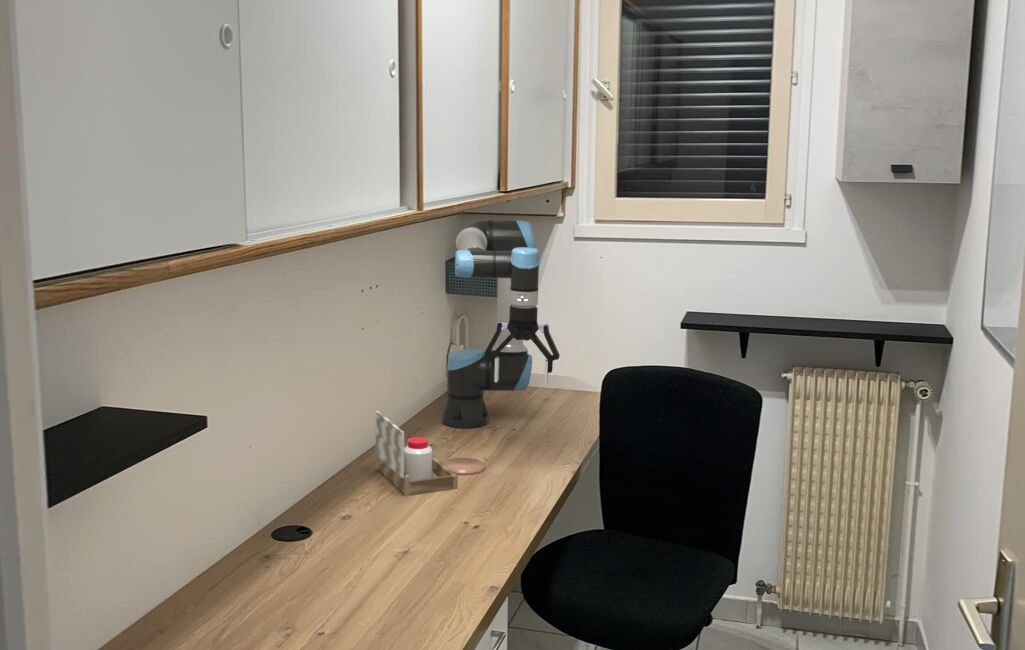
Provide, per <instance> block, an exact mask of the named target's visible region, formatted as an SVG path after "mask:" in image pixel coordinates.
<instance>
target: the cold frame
mask: <svg viewBox="0 0 1025 650" xmlns="http://www.w3.org/2000/svg"><path fill="white" fill-rule="evenodd" d="M404 448H405V431H403V430H402V429H401V428H400V427H399V426H398V425H396V424H395V423H394V422H393V421H391V420H390V419H389V418H388V417H386V415H384V414H383V413H381V412H380V411H379V410H376V411H375V449H374V450H375V452H374V453H375V455H376V456H377V457H378V458H379V459H378V461H379V472H380V473H381V474H382V475H383V476H384V477H385V478H386V479H388V481H389V482H390V483H391V484H393V485H394V487H395V488H396V489H397V490H399V491H400V492H401V494H403V496H405V497H408V496H415V495H422V494H428V493H429V494H430V493H436V492H443V491H449V490H450V491H451V490H456V489H458V476H459V475H456V474H455V473H454V472H452V471H451V470H450V469H449V468H447V467H446V466H445V465H444V464H443V462H441V461H440V460H439V459H438V458H437V457H435V456H434V455H433V454H432V473H434V474H435V475H436V476H434V477H433V476H432V478H425V479H418V480H411V481H410V476H409V475H407V474H406V472H405V471H404Z"/></svg>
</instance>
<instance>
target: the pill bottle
mask: <svg viewBox="0 0 1025 650" xmlns="http://www.w3.org/2000/svg"><path fill="white" fill-rule="evenodd" d="M432 455H433V448H432V447H431V445H429V439H428V438H426V437H421V436H413V437H410V438H408V439H407V445H406V446H404V471H405V472H406V474H407V475H409V476H410V481H411V480H418V479H425V478H433V471H432Z"/></svg>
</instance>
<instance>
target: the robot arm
mask: <svg viewBox="0 0 1025 650" xmlns="http://www.w3.org/2000/svg"><path fill="white" fill-rule="evenodd" d="M535 243H536V242H535V236H534V232H533V227H532V224H531V223H530V222H529V221H525V220H517V219H516V220H502V219H501V220H500V219H499V220H497V219H496V220H495V219H494V220H493V219H490V220H489V219H480V220H476V221H473V222H471V223H468V224H466V225H465V226H463V227H462V228H460V230H459V231H458V232H457V233H456V237H455V246H456V249H457V250H456V251H455V253H454V275H455V276H456V277H458V278H465V279H470V278H472V279H473V278H476V279H477V278H479V279H480V278H484V279H485V278H487V279H488V278H489V279H490V278H491V279H497V290H496V291H497V293H496V294H497V297H496V298H497V300H496V301H497V302H496V331H495V332H494V334H493V337H492V338H491V340H490V342H489V344H488V346H487V347H486V349H485V350H484V349H483V348H475V347H473V348H470V347H469V348H464V349H458V350H456V351H454V352H451V354H449V356H448V359H447V360H448V361H447V367H446V370H447V384H446V385H447V386H446V387H447V392H446V401H445V403H444V406H443V409H442V412H441V415H440V416H441V417H440V418H441V419H440V420H441V423H442V424H443V425H445V426H448V427H451V428H457V429H459V428H460V429H472V428H473V429H474V428H480V427H484V426H485V425H487V424H488V423H489V413H488V412H489V411H488V410H487V406H486V402H485V399H484V392H485V391H494V392H495V391H499V392H500V391H504V392H505V391H508V392H509V391H511V392H516V391H517V392H518V391H525V390H526V389H528V387H529V385H530V384H529V383H530V380H531V376H532V369H533V365H532V364H533V356H532V355H531V354H529V352H528V348H527V346H525V344H524V342H525V341H527V342H528V341H529V340H531V342H532V343H534V344H535V346H536V348H537V349H538V350H539V351H540V353H541V354H542V355H543V356H544V357H545V358H546V359H545V361H544V377H543V378H544V379H543V380H544V381H543V382H544V383H543V386H548V383H549V373H552V372H553V368H554V367H553V364H554V362H555V361H556V360H559V359H560V356H561V355H560V353H559V351H558V348H557V346H556V344H555V342H554V340H553V337H552V334H551V333H550V326H549V324H548V323H545V324H541V325H540V324H539V323H538V310H539V309H538V307H537V305H538V304H539V274H540V263H541V261H540V251H539V250H538V248H536V246H535V245H536V244H535ZM539 330H540V332H541V334H543V336H544V338H545V340H546V342H547V344H548V347H549V349H550V351H551V352H550V351H549V350H548V348H547V347H546V346H545V344H544V343H543V342H542V341H541V339H540V338H539V337H538V335H537V334H536V333H537V332H538V331H539ZM551 353H552V354H551Z"/></svg>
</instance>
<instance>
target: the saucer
mask: <svg viewBox="0 0 1025 650" xmlns="http://www.w3.org/2000/svg"><path fill="white" fill-rule="evenodd" d="M442 463H443V464H444V465H445V466H446V467H447V468H449V469H450V470H451V471H452V472H454V473H455V474H456V475H457V476H472V475H477V474H480V473H482V472H483V471H485V469H486V468H485V466H486V465H485V463H484V462H483V461H482V460H479V459H475V458H469V457H454V458H448V459H447V460H444V461H443V462H442Z"/></svg>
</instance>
